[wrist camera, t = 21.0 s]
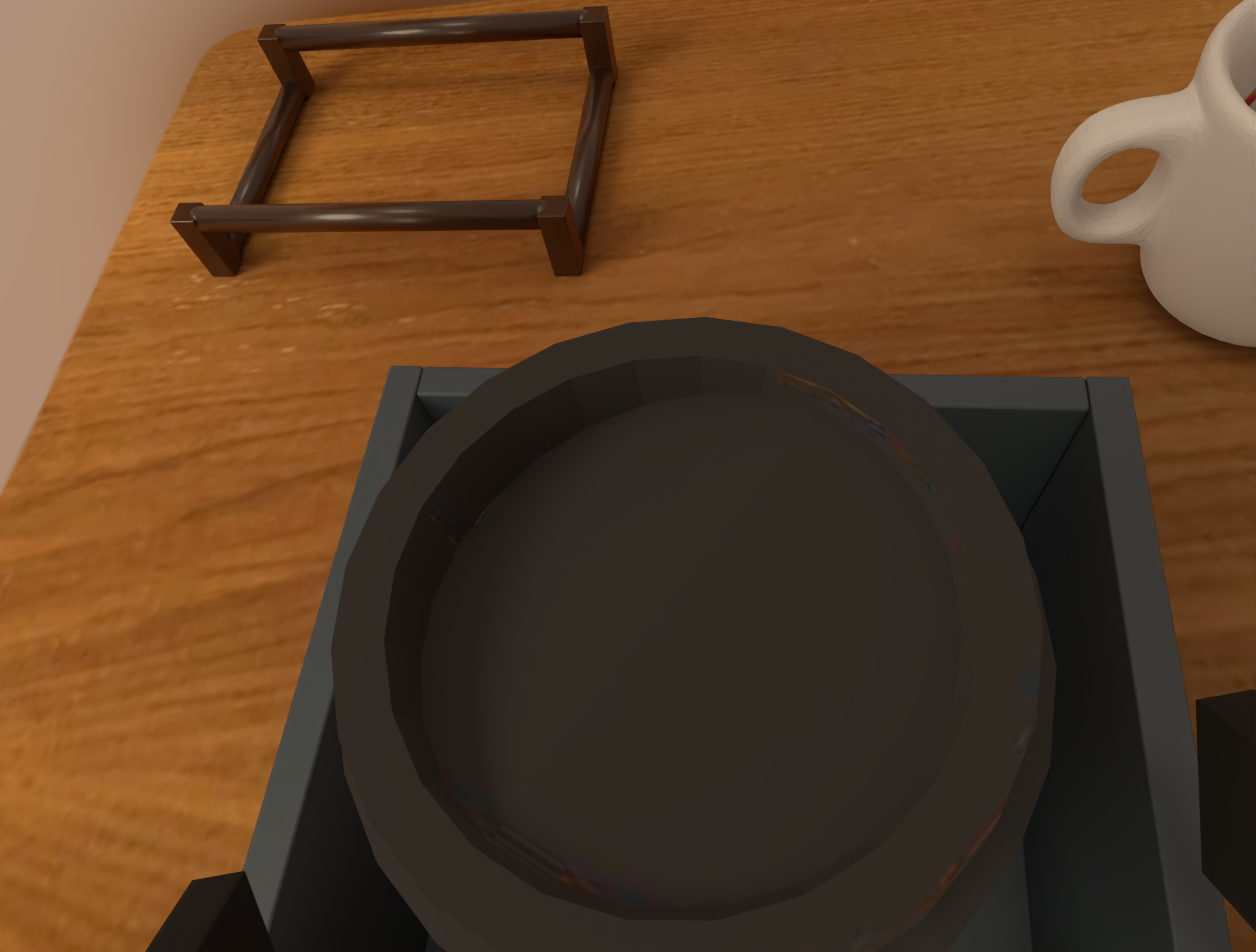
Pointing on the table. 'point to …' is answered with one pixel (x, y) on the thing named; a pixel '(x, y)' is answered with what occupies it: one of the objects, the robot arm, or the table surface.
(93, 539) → the table surface
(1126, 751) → the grey open box
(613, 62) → the rectangular rod frame
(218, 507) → the table surface
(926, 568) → the coffee cup
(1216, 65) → the cup
